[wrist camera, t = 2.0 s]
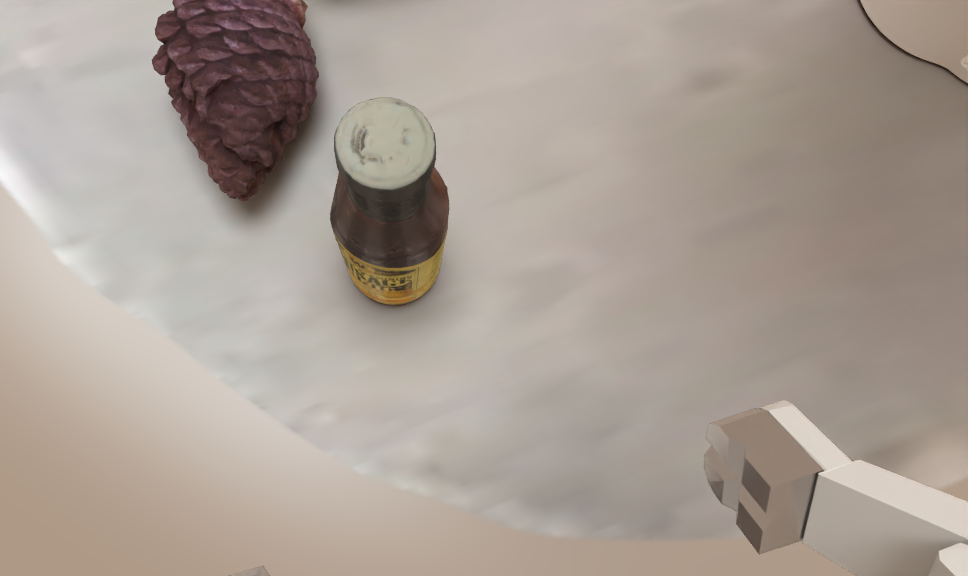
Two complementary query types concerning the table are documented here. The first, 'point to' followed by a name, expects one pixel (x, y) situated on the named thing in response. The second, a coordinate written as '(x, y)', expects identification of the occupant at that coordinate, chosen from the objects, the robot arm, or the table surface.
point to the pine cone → (238, 82)
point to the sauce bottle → (389, 200)
